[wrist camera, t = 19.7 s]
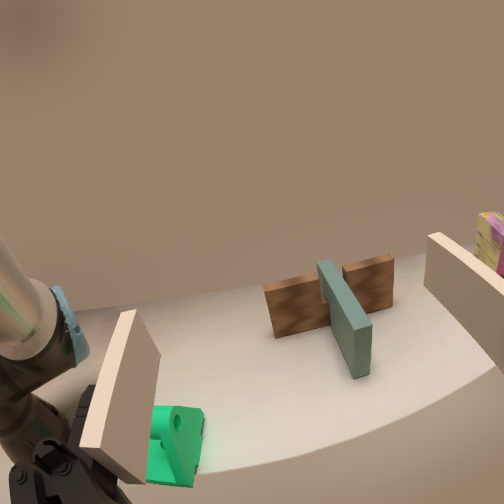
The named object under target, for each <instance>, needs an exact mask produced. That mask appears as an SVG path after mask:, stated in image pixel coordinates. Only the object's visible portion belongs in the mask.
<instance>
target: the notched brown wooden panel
mask: <svg viewBox="0 0 504 504" xmlns="http://www.w3.org/2000/svg"><path fill="white" fill-rule="evenodd" d="M342 272H343V279H344V280H345V282H346V283H347V285H348V286H349V288H350V290H351V291H352V293H353V294H354V296H355V297H356V299H357V301H358V302H359V304H360V305H361V307H362V309H363V310H364V312H365V313H366V314H369V313H373V312H376V311H379V310H382V309H385V308H389V307H392V302H393V282H394V258H393V257H392V256H391V255H390V254H386V255H382V256H378V257H374V258H371V259H367V260H363V261H359V262H355V263H352V264H348V265H344V266H342ZM263 288H264V293H265V297H266V301H267V305H268V309H269V314H270V318H271V322H272V326H273V330H274V335H275V338H279V337H284V336H288V335H292V334H296V333H300V332H304V331H308V330H312V329H316V328H320V327H323V326H327V325H331V319H330V307H329V304H328V302H327V300H326V298H325V296H322V297H321V289H320V281H319V277H318V275H317V274H316V273H312V274H308V275H304V276H300V277H295V278H291V279H287V280H283V281H279V282H274V283H270V284H266V285H263Z"/></svg>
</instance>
